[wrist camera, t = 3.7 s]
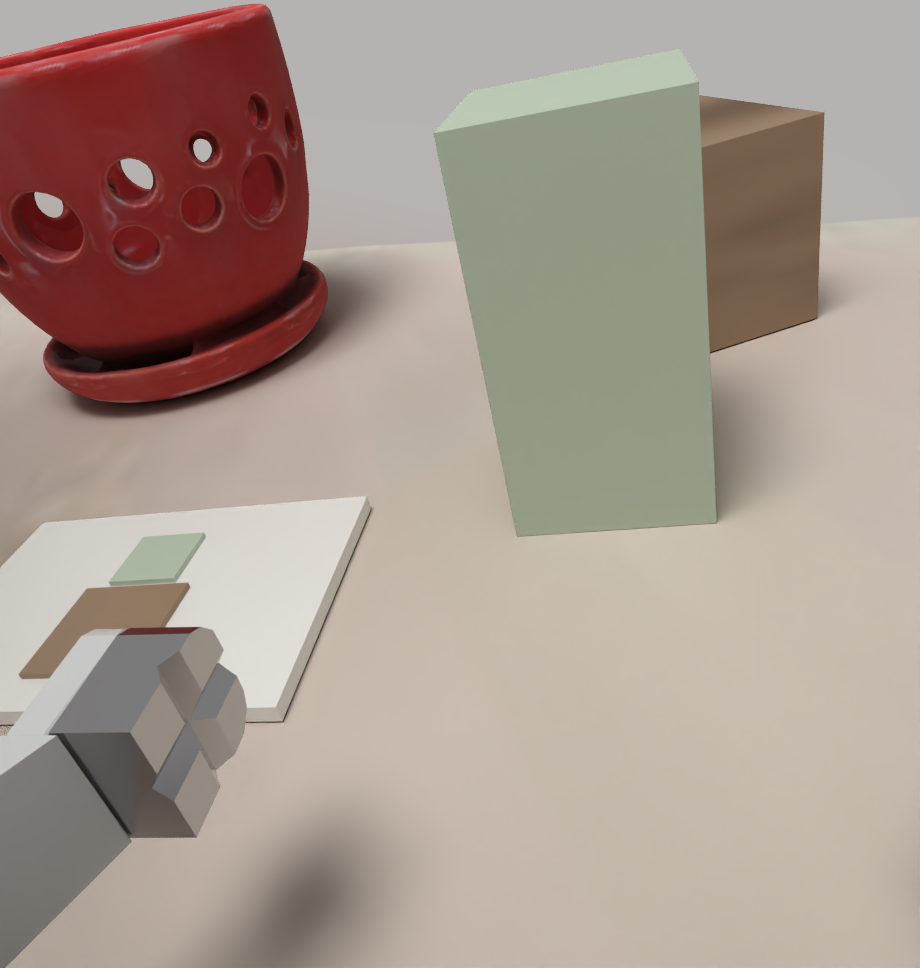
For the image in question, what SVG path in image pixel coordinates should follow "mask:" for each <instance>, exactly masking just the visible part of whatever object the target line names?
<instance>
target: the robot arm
mask: <svg viewBox="0 0 920 968" xmlns="http://www.w3.org/2000/svg"><path fill="white" fill-rule="evenodd" d="M223 651H224V649H223V647H222V646H221V644H220V642H219V640H218V638H217V637H216V635H215V633H214V631H213V630H211V629H207V628H203V627H153V628H129V629H94V630H92V631H90V632H88V633H86V634H84V635H82V636H81V637H80V638H79V640H78V641H77V642H76V644H75V645H74V646H73V648H72V649H71V650H70V652H69V653H68V654H67V656H66V657H65V658H64V659H63V661H62V662H61V663H60V665H59V666H58V667H57V669H56V670H55V671H54V673H53V674H52V675H51V677H50V678H49V679H48V681H47V682H46V683H45V685H44V686H43V687H42V689H41V690H40V691H39V692H38V694H37V695H36V696H35V698H34V699H33V700H32V702H31V703H30V704H29V706H28V707H27V708H26V710H25V711H24V712H23V714H22V715H21V716H20V718H19V719H18V720H17V721H16V723H15V724H14V725H13V727H12V728H11V729H10V731H9V732H8V733H7V735H0V968H5V967H6V966H7V965H8V964H9V963H10V962H11V961H12V960H13V959H14V958H15V957H16V956H17V955H18V954H19V953H20V952H21V951H22V950H23V949H24V948H25V947H26V946H27V945H28V944H29V943H30V942H31V941H32V940H33V939H34V938H35V937H36V936H37V935H38V934H39V933H40V932H41V931H42V930H43V929H44V928H45V927H46V926H47V925H48V924H49V923H50V922H51V921H52V920H54V919H55V918H56V917H57V916H58V915H59V914H60V913H61V912H62V911H63V910H64V909H65V908H66V907H67V906H68V905H69V904H70V903H71V902H72V901H73V900H74V899H75V898H76V897H77V896H78V895H79V894H80V893H81V892H82V891H83V890H84V889H85V888H86V887H87V886H88V885H89V884H90V883H91V882H92V881H93V880H94V879H95V878H96V877H97V876H98V875H99V874H100V873H101V872H102V871H103V870H104V869H105V868H106V867H107V866H108V865H109V864H110V863H111V862H112V861H113V860H114V859H115V858H116V857H117V856H118V855H119V854H120V853H121V852H122V851H123V850H124V849H125V848H126V847H127V846H128V845H129V844H130V843H131V839H130V838H197V836H198V833H199V831H200V829H201V827H202V825H203V823H204V820H205V818H206V816H207V814H208V812H209V810H210V808H211V805H212V803H213V801H214V799H215V797H216V795H217V792H218V790H219V788H220V784H219V780H218V776H217V772H216V770H217V769H218V768H219V767H220V766H221V765H223V764H224V763H225V762H226V761H227V760H228V759H230V758H231V757H232V756H233V755H234V754H235V753H236V751H237V748H238V746H239V744H240V741H241V739H242V737H243V734H244V729H245V721H246V713H247V706H246V700H245V694H244V690H243V688H242V686H241V684H240V682H239V679H238V677H237V676H236V675H235V674H233V673H232V672H231V671H229V670H228V669H226V668H225V667H224V666H222V665H221V664H220V663H219V661H220V659H221V656H222V653H223Z"/></svg>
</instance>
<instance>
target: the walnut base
mask: <svg viewBox="0 0 920 968" xmlns="http://www.w3.org/2000/svg"><path fill="white" fill-rule="evenodd" d="M699 104H700V128H701V153H702V177H703V202H704V226H705V250H706V275H707V299H708V324H709V348H710V352H713V351H716V350H719V349H722V348H725V347H728V346H731V345H734V344H737V343H741V342H744V341H747V340H750V339H753V338H756V337H759V336H762V335H765V334H769V333H772V332H775V331H778V330H781V329H784V328H787V327H790V326H793V325H797V324H800V323H803V322H806V321H809V320H812V319H815V318H817V302H818V275H819V247H820V219H821V191H822V163H823V161H822V160H823V136H824V134H823V133H824V112H817V111H810V110H803V109H795V108H788V107H781V106H773V105H766V104H759V103H751V102H744V101H737V100H730V99H722V98H715V97H708V96H700V95H699Z"/></svg>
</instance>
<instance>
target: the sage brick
mask: <svg viewBox="0 0 920 968" xmlns="http://www.w3.org/2000/svg"><path fill="white" fill-rule="evenodd" d="M434 138H435V142H436V147H437V152H438V157H439V161H440V166H441V171H442V176H443V181H444V186H445V190H446V196H447V200H448V205H449V210H450V215H451V220H452V225H453V229H454V234H455V239H456V244H457V249H458V254H459V258H460V263H461V268H462V273H463V278H464V283H465V287H466V292H467V297H468V302H469V307H470V312H471V316H472V321H473V326H474V331H475V336H476V341H477V345H478V350H479V355H480V360H481V365H482V370H483V374H484V379H485V384H486V389H487V394H488V399H489V403H490V408H491V413H492V418H493V423H494V427H495V432H496V437H497V442H498V447H499V452H500V456H501V461H502V466H503V471H504V476H505V481H506V485H507V490H508V495H509V500H510V505H511V510H512V514H513V519H514V524H515V529H516V534H517V536H532V535H547V534H562V533H577V532H591V531H606V530H621V529H636V528H651V527H666V526H681V525H696V524H711V523H717V519H716V494H715V470H714V446H713V421H712V397H711V372H710V348H709V324H708V299H707V275H706V250H705V226H704V202H703V177H702V153H701V128H700V104H699V82H698V80H697V78H696V76H695V74H694V73H693V71H692V69H691V67H690V65H689V64H688V62H687V60H686V58H685V56H684V55H683V53H682V51H681V49H675V50H670V51H665V52H660V53H655V54H650V55H646V56H640V57H636V58H631V59H626V60H621V61H616V62H611V63H606V64H602V65H597V66H592V67H587V68H582V69H577V70H572V71H567V72H562V73H557V74H553V75H547V76H543V77H538V78H533V79H528V80H523V81H518V82H513V83H508V84H503V85H499V86H494V87H489V88H484V89H479V90H474V91H470V92H469V93H468V95H467V96H466V97H465V98H464V99H463V100H462V101H461V103H460V104H459V105H458V106H457V107H456V108H455V109H454V111H453V112H452V113H451V114H450V115H449V116H448V117H447V118H446V120H445V121H444V122H443V123H442V124H441V125H440V126H439V128H438V129H437V130H436V131H435V132H434Z"/></svg>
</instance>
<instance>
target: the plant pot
mask: <svg viewBox="0 0 920 968" xmlns="http://www.w3.org/2000/svg"><path fill="white" fill-rule="evenodd" d="M197 139H205V140H207V141H208V142H209V143H210V145H211V147H212V153H211V156H210V157H209V159H208V160H207V161H205V162H201V161H200V160H198V159H197V157H196V156H195V154H194V150H193V144H194V142H195V140H197ZM126 158H132V159H136V160H140V161H141V162H143V163H145V164H146V165H148V167H149V168H150V170H151V172H152V174H153V186H152V188H151V189H145V188H142V187H140V186H137V185H136V184H135V183H133V182H132V181H131V180H130V179H128V178H127V177H126V175H125V173H124V172H123V170H122V168H121V163H120V160H122V159H126ZM35 192H40V193H47V194H49V195H52V196H55V197H57V198H59V199H60V200H61V201H62V203H63V206H64V207H63V212H62V214H61V216H59V217H57V218H52V217H49V216H47V215H45V214H44V213H43V212H42V211H41V210H40V209H39V208H38V206H37V204H36V201H35V197H34V193H35ZM308 217H309V193H308V181H307V171H306V161H305V149H304V141H303V135H302V129H301V125H300V119H299V114H298V110H297V105H296V101H295V96H294V93H293V88H292V84H291V80H290V76H289V72H288V68H287V65H286V61H285V57H284V54H283V50H282V47H281V43H280V40H279V37H278V33H277V30H276V27H275V24H274V21H273V17H272V14H271V11H270V9H269V8H268V7H267V6H266V5H263V4H248V5H240V6H233V7H228V8H223V9H217V10H212V11H207V12H202V13H197V14H192V15H187V16H182V17H177V18H172V19H168V20H163V21H158V22H154V23H148V24H144V25H138V26H133V27H128V28H123V29H118V30H113V31H108V32H104V33H99V34H95V35H91V36H87V37H83V38H78V39H74V40H70V41H66V42H62V43H58V44H54V45H50V46H46V47H42V48H38V49H34V50H30V51H26V52H21V53H17V54H13V55H9V56H4V57H0V293H1V294H2V295H3V296H4V297H5V298H6V299H7V300H8V301H9V302H10V303H11V304H12V305H13V306H14V307H16V308H17V309H18V310H19V311H20V312H21V313H22V314H23V315H24V316H26V317H27V318H28V319H29V320H30V321H32V322H33V323H34V324H35V325H37V326H38V327H39V328H41V329H42V330H43V331H45V332H46V333H47V334H49V335H50V336H52V337H53V338H52V339H51V341H50V342H49V343H48V345H47V347H46V349H45V351H44V355H43V361H44V365H45V368H46V370H47V371H48V373H49V374H50V375H51V376H52V378H53V379H54V380H55V381H56V382H58V383H59V384H60V385H61V386H63V387H64V388H66V389H68V390H69V391H71V392H74V393H76V394H78V395H80V396H84V397H87V398H91V399H94V400H100V401H107V402H121V403H137V402H150V401H158V400H166V399H171V398H177V397H181V396H185V395H189V394H193V393H197V392H200V391H203V390H207V389H210V388H213V387H216V386H219V385H222V384H225V383H227V382H230V381H233V380H236V379H238V378H240V377H243V376H245V375H247V374H250V373H252V372H253V371H255V370H257V369H259V368H261V367H263V366H265V365H267V364H269V363H271V362H272V361H274V360H275V359H277V358H279V357H280V356H282V355H284V354H285V353H287V352H288V351H289V350H291V349H292V348H293V347H295V346H296V345H297V344H298V343H299V342H300V341H301V340H302V339H304V338H305V337H306V336H307V334H308V333H309V332H310V331H311V330H312V329H313V327H314V326H315V324H316V323H317V321H318V320H319V318H320V316H321V314H322V312H323V310H324V307H325V304H326V301H327V293H328V291H327V284H326V280H325V277H324V275H323V273H322V272H321V271H320V270H319V269H318V267H316V266H315V265H313V264H312V263H310V262H307V261H304V260H303V256H304V251H305V246H306V239H307V231H308Z"/></svg>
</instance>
